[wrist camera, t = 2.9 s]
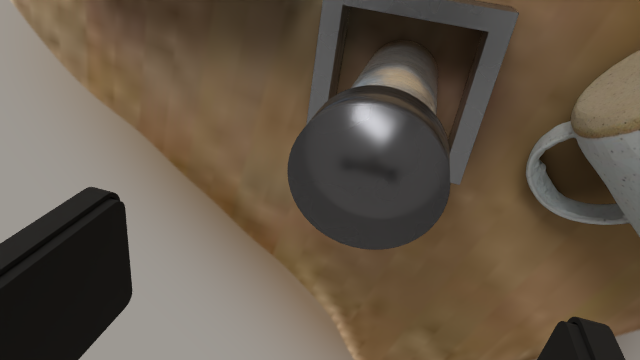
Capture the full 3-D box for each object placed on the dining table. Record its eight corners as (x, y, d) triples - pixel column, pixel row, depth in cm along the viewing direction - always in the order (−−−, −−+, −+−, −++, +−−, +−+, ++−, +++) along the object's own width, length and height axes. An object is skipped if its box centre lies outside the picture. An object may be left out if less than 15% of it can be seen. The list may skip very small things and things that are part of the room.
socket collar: (511, 6, 22) (518, 13, 19) (458, 165, 26) (459, 184, 24) (337, -24, 23) (325, -21, 21) (314, 132, 27) (303, 147, 25)
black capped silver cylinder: (459, 40, 23) (472, 125, 12) (433, 127, 25) (425, 266, 14) (366, 22, 24) (297, 87, 12) (350, 108, 26) (280, 227, 15)
